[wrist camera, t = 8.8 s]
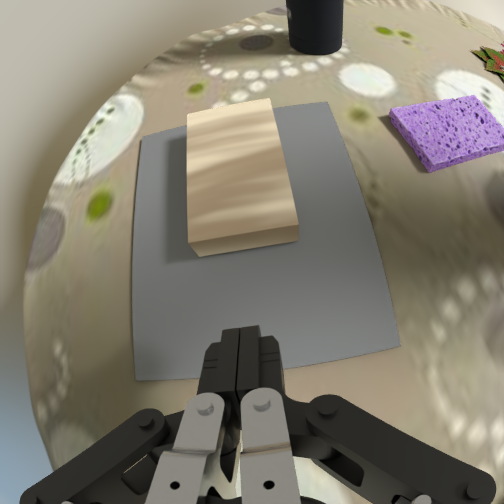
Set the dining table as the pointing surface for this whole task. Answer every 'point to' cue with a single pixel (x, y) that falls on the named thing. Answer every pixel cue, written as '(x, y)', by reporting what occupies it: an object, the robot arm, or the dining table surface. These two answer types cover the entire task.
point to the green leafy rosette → (492, 59)
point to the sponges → (448, 131)
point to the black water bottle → (315, 25)
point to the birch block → (237, 180)
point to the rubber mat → (259, 261)
